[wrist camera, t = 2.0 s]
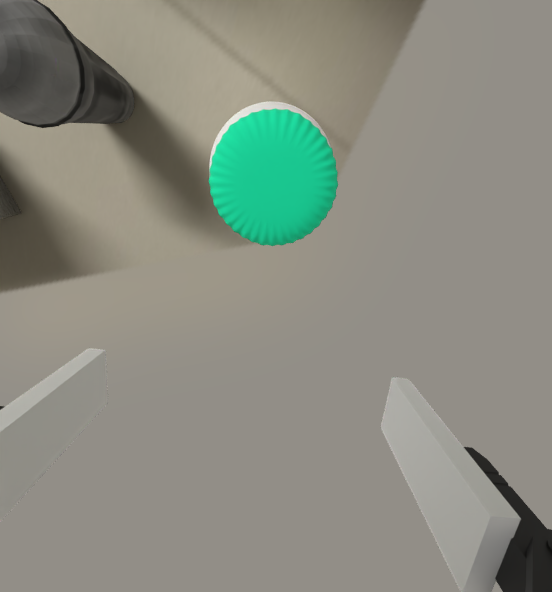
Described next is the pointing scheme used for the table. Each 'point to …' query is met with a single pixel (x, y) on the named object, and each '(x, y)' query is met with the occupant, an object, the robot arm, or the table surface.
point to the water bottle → (272, 173)
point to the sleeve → (7, 202)
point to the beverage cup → (54, 72)
